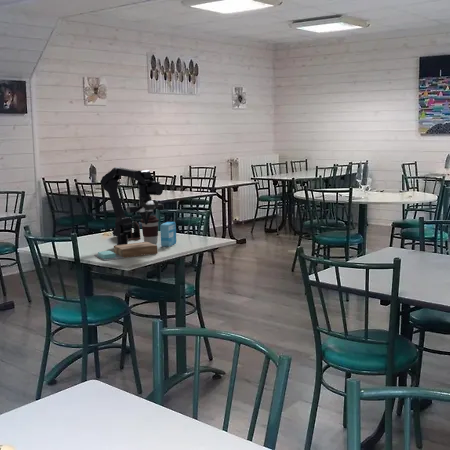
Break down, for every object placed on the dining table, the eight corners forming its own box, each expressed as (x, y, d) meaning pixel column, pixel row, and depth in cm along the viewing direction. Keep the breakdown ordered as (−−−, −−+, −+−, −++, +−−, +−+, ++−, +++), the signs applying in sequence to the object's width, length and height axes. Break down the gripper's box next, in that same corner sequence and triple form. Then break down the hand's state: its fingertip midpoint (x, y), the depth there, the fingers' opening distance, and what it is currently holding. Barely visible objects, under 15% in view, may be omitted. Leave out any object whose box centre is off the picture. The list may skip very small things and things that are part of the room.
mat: (94, 255, 302) (94, 254, 302) (113, 253, 307) (113, 252, 307) (104, 260, 288) (104, 260, 288) (124, 258, 293) (124, 257, 293)
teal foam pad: (109, 250, 302) (109, 254, 302) (97, 252, 299) (98, 255, 299) (115, 253, 294) (115, 257, 294) (103, 254, 291) (104, 258, 291)
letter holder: (123, 241, 342) (122, 216, 340) (118, 235, 361) (116, 212, 359) (140, 239, 345) (139, 215, 343) (134, 234, 364) (133, 211, 362)
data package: (168, 247, 318) (167, 224, 317) (160, 247, 320) (159, 224, 318) (176, 243, 330) (175, 221, 328) (168, 243, 331) (167, 221, 329)
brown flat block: (114, 253, 306) (113, 245, 306) (147, 249, 315) (146, 241, 314) (123, 257, 294) (122, 249, 293) (157, 253, 303) (157, 245, 302)
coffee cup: (157, 241, 338) (156, 214, 335) (161, 244, 328) (160, 216, 326) (140, 242, 335) (138, 215, 332) (143, 245, 325) (142, 218, 323)
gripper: (132, 197, 299) (134, 228, 301) (167, 194, 308) (168, 224, 310) (125, 195, 309) (126, 225, 311) (159, 192, 317) (160, 222, 320)
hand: (146, 224), depth 313 cm, fingers closed
